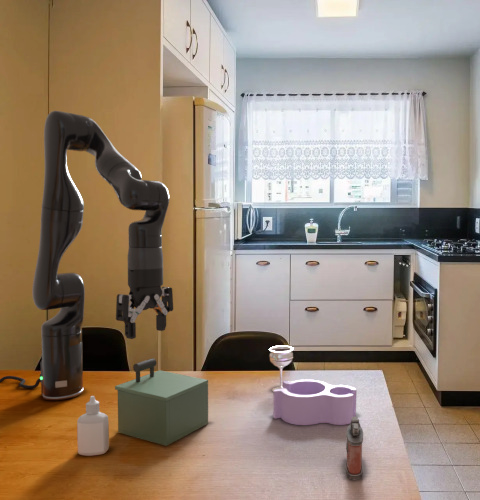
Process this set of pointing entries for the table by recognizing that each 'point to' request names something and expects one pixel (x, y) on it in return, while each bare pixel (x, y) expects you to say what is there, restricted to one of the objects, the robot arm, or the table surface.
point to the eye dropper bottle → (92, 430)
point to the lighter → (354, 449)
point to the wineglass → (280, 358)
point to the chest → (162, 415)
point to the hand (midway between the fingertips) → (146, 334)
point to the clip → (314, 403)
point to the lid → (159, 383)
